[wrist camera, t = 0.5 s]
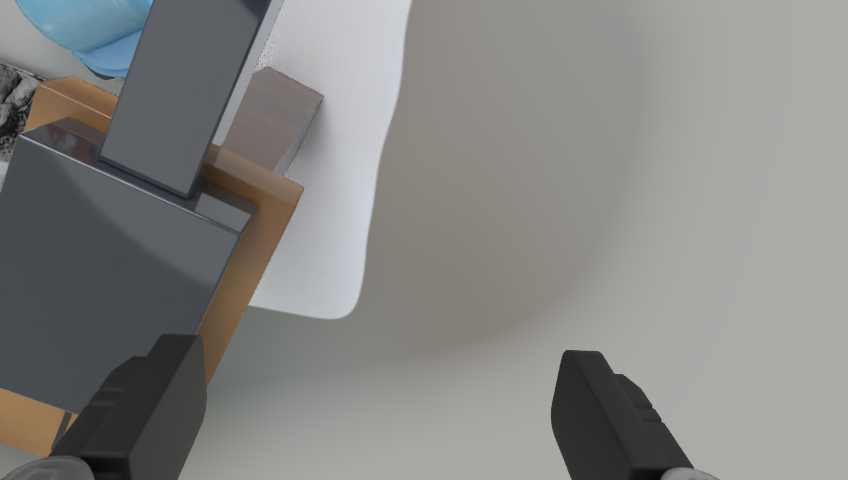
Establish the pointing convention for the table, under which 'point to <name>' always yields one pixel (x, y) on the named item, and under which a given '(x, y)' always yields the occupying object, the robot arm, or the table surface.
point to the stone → (14, 108)
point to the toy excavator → (92, 30)
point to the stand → (233, 171)
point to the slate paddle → (127, 208)
